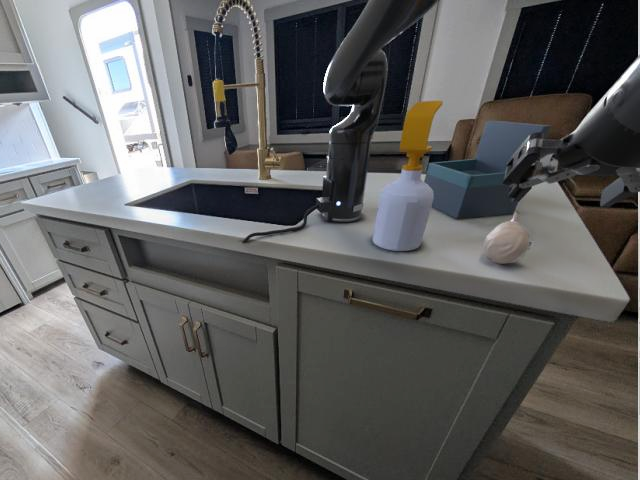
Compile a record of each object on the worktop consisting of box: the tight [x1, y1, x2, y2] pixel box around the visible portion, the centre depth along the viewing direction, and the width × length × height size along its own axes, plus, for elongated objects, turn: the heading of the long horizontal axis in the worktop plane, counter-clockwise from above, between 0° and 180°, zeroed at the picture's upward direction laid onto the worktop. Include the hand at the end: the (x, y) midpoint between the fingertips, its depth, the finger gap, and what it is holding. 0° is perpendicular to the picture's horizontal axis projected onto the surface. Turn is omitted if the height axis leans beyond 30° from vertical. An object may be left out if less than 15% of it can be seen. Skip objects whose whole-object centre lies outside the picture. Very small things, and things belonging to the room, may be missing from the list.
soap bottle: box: [372, 100, 443, 252], centre depth 57 cm, size 9×9×25 cm
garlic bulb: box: [482, 210, 532, 265], centre depth 53 cm, size 7×6×8 cm
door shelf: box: [423, 120, 552, 220], centre depth 73 cm, size 14×16×18 cm
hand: (557, 197), depth 39 cm, fingers open, 8 cm apart
